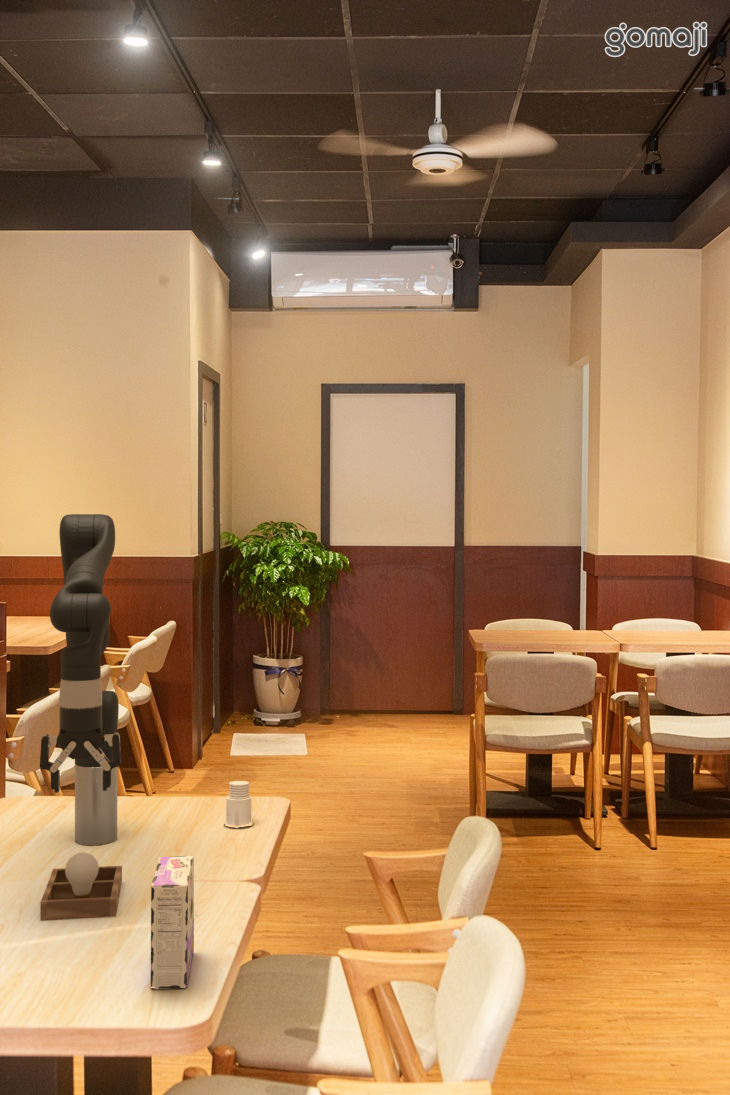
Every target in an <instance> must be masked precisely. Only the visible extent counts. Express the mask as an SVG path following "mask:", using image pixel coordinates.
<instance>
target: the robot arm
mask: <svg viewBox="0 0 730 1095" xmlns="http://www.w3.org/2000/svg"><path fill="white" fill-rule="evenodd" d="M115 527H116V526H115V522H114V520H113V518H112V517H111V516H110V515H106V514H101V513H100V514H99V513H95V514H93V513H91V514H90V513H85V514H84V513H83V514H82V513H81V514H79V513H76V514H75V513H74V514H71V513H70V514H65V515H63V516H62V517H61V519H60V523H59V546H60V547H59V548H60V555H61V563H62V573H63V575H62V576H63V582H64V585H63V587H62V588H61V589H60V590H59V591H58V592H57V594H56V595H55V597H54V598H53V601H52V602H51V605H50V609H49V618H50V623H51V625H52V626H53V628H54V629H55V630H57V631H58V632H61V633H65V642H66V646H65V647H64V648H63V649H62V650H61V653H60V685H59V697H58V703H59V733H58V735H50V734H48V733H45V734H44V735H42V738H41V739H40V740H41V741H40V756H39V768H40V770H45V771H48V772H49V773H50V790H51V791H52V790H54V793H59V792H60V790H61V788H60V784H61V779H60V778H61V777H60V773H61V772H60V771H61V770H60V769H59V768H60V767H61V766H62V764H64V762H65V761H66V759H67V758H69V759H71V760H74V841H75V843H77V844H79V845H85V846H86V845H87V846H96V845H97V846H99V845H105V844H109V843H112V842H114V841H115V840H117V839H118V768H119V767H120V766H121V764H122V750H121V749H122V748H121V735H120V732H118V726H119V725H118V724H119V708H120V707H119V706H120V705H119V697H118V695H117V693H116V692H115V691H114V690H103V687H102V686H103V685H102V678H101V676H102V675H101V674H102V672H101V670H102V669H101V668H102V667H101V664H102V663H101V662H102V661H101V659H102V658H101V657H102V656H103V654H104V653H105V651H106V650H107V647H108V646H109V643H110V639H111V630H110V624H111V623H110V618H111V613H112V606H111V603H110V600H109V599H108V597H107V596H105V595H104V594H103V591H104V583H105V581H104V580H105V575H106V572H107V569H108V567H109V566H110V563H111V560H112V557H113V556H114V551H115V548H116V547H115V545H116V528H115ZM55 743H57V745H58V746H59V748H61V752H60V754H59V755H58V756H57V757H56V759H55V760H54V762H51V761H49V759H50V757H49V756H50V749H51V748H53V746H54V744H55Z"/></svg>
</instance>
